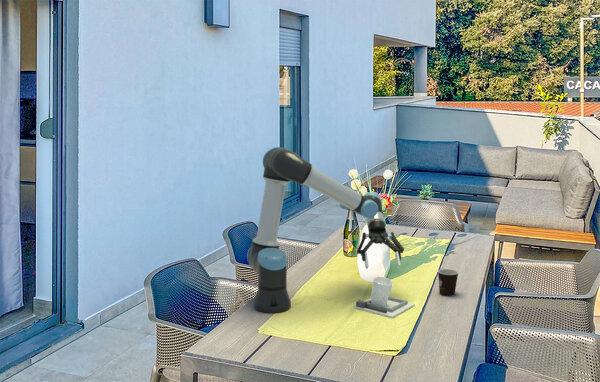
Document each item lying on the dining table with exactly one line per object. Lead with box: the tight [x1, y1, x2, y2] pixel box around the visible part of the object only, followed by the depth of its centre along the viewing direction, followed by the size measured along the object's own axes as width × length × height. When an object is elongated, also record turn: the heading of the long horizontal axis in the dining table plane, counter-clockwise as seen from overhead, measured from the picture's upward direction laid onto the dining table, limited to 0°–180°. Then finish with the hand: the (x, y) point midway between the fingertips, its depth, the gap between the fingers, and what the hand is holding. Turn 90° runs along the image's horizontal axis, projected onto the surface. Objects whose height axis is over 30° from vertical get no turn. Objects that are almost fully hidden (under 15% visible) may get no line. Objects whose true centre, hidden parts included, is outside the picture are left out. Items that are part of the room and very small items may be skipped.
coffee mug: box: [437, 268, 459, 297], centre depth 276 cm, size 12×9×10 cm
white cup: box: [370, 276, 393, 306], centre depth 258 cm, size 8×8×10 cm
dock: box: [353, 296, 416, 319], centre depth 258 cm, size 18×18×3 cm
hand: (383, 267), depth 263 cm, fingers open, 13 cm apart
